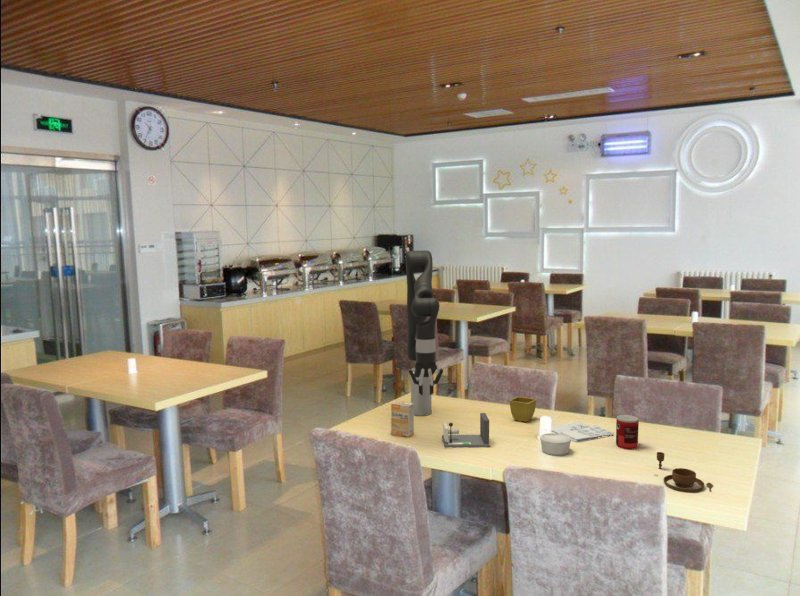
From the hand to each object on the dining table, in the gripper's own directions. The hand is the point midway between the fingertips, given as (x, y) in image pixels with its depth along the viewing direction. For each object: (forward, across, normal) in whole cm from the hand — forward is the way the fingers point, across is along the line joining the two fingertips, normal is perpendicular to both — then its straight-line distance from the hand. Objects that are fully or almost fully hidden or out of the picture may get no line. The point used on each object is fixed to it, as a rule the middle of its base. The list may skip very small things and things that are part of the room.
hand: (426, 394), depth 247 cm
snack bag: (+20, -62, -10) cm, 66 cm away
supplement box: (+19, +9, -10) cm, 24 cm away
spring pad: (+18, -10, 0) cm, 20 cm away
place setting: (+20, -81, +41) cm, 93 cm away
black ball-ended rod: (+17, -9, +5) cm, 20 cm away
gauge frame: (+19, -15, 0) cm, 24 cm away
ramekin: (+20, -47, +12) cm, 52 cm away
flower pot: (+19, -43, -28) cm, 55 cm away
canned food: (+19, -75, +8) cm, 78 cm away
